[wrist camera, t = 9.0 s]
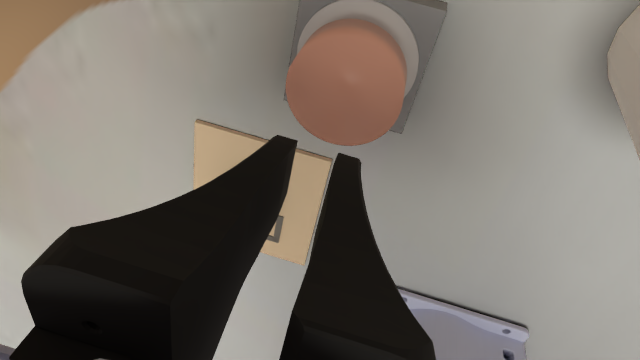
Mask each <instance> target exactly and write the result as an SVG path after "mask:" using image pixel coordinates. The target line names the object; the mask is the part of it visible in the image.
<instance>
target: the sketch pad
mask: <svg viewBox="0 0 640 360" xmlns="http://www.w3.org/2000/svg"><path fill="white" fill-rule="evenodd" d="M267 142H268V140H265V139H262V138H258V137H255V136H251V135H248V134H245V133H241V132H238V131H234V130H231V129H228V128H224V127H221V126H217V125H214V124H211V123H207V122H204V121H200V120H196V121H195V137H194V190H195V189H197V188H199V187H200V186H202V185H204V184H206V183H208V182H210V181H211V180H213V179H215V178H216V177H218V176H220V175H221V174H223V173H225V172H226V171H228V170H230V169H231V168H233V167H234V166H236V165H237V164H239V163H240V162H241V161H243V160H244V159H246V158H247V157H249V156H250V155H251V154H253V153H254V152H255V151H257V150H258V149H259V148H261V147H262V146H263V145H264V144H266V143H267ZM331 162H332V159H330V158H326V157H323V156H320V155H316V154H313V153H309V152H306V151H303V150H299V149H296V151H295V156H294V161H293V166H292V171H291V176H290V181H289V186H288V192H287V195H286V197H285V200H284V203H283V205H282V208H281V211H280V213H279V216H278V218H277V221H276V222H275V224H274V226H273V228H272V230H271V232H270V234H269V236H268V238H267V239H266V241H265V243H264V245H263V247H262V249H261V251H260V252H262V253H265V254H268V255H271V256H275V257H278V258H281V259H284V260H288V261H291V262H294V263H297V264H301V265H304V264H305V261H306V257H307V253H308V249H309V245H310V242H311V238H312V234H313V230H314V227H315V223H316V219H317V215H318V211H319V208H320V204H321V200H322V196H323V192H324V189H325V185H326V181H327V177H328V173H329V170H330V166H331Z"/></svg>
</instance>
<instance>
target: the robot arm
mask: <svg viewBox="0 0 640 360" xmlns="http://www.w3.org/2000/svg"><path fill="white" fill-rule="evenodd" d="M296 146H297V140H293V139H290V138H286V137H283V136H280V135H277V136H275V137H273V138H272V139H270V140H269V141H268V142H267V143H266V144H264V145H263V146H262V147H261V148H259V149H258V150H257V151H255V152H254V153H253V154H251V155H250V156H249V157H247V158H246V159H244V160H243V161H241V162H240V163H239V164H237V165H236V166H234V167H233V168H231V169H230V170H228V171H226V172H225V173H223V174H221V175H220V176H218V177H216V178H215V179H213V180H211V181H210V182H208V183H206V184H204V185H202V186H200V187H199V188H197V189H195V190H192V191H190V192H188V193H186V194H184V195H182V196H180V197H177V198H175V199H172V200H170V201H167V202H164V203H162V204H159V205H157V206H154V207H151V208H148V209H145V210H142V211H139V212H136V213H132V214H128V215H125V216H121V217H118V218H114V219H110V220H105V221H100V222H96V223H91V224H86V225H81V226H76V227H71V228H69V229H68V230H67V231H66V232H65V233H64V234H62V235H61V236H60V237H59V238H58V239H57V240H56V241H55V242H54V243H53V244H52V245H51V246H50V247H49V248H48V249H47V250H46V251H45V252H44V253H43V254H42V255H41V256H40V257H39V258H38V259H37V260H36V261H35V262H34V263H33V264H32V265H31V266H30V267H29V268H28V269H27V270H26V271H25V273H24V274H23V277H22V280H21V283H22V289H23V294H24V297H25V300H26V302H27V305H28V308H29V310H30V313H31V316H32V318H33V321H34V323H35V327H34V328H33V329H32V330H31V331H30V333H29V334H28V335H27V336H26V337H25V339H24V340H23V341H22V342H21V343H20V345H19V346H18V347H17V348H16V349H14V348H11V347H8V346H5V345H2V344H0V360H212V359H213V356H214V354H215V351H216V349H217V346H218V344H219V341H220V339H221V336H222V334H223V331H224V328H225V326H226V323H227V321H228V318H229V316H230V314H231V311H232V309H233V306H234V304H235V301H236V299H237V296H238V294H239V292H240V289H241V287H242V285H243V283H244V281H245V279H246V277H247V275H248V273H249V271H250V269H251V267H252V265H253V264H254V262H255V260H256V258H257V256H258V254H259V252H260V251H261V249H262V247H263V245H264V243H265V241H266V239H267V238H268V236H269V234H270V232H271V230H272V228H273V226H274V224H275V222H276V221H277V218H278V216H279V213H280V211H281V208H282V205H283V203H284V200H285V197H286V195H287V192H288V186H289V181H290V176H291V171H292V166H293V161H294V156H295V151H296ZM403 297H405V298H403ZM528 338H529V331H528V329H526V328H524V327H521V326H518V325H515V324H511V323H508V322H505V321H502V320H498V319H495V318H492V317H489V316H485V315H482V314H479V313H476V312H472V311H469V310H466V309H463V308H459V307H456V306H453V305H450V304H446V303H443V302H440V301H437V300H433V299H430V298H427V297H424V296H420V295H417V294H414V293H411V292H407V291H404V290H401V289H397V287H396V285H395V283H394V281H393V280H392V278H391V276H390V274H389V272H388V270H387V268H386V265H385V263H384V261H383V259H382V257H381V254H380V252H379V249H378V246H377V244H376V241H375V238H374V235H373V232H372V229H371V226H370V222H369V219H368V215H367V211H366V206H365V201H364V196H363V190H362V182H361V162H360V160H359V159H358V158H355V157H351V156H348V155H344V154H341V153H338V155H337V158H336V160H335V163H334V165H333V169H332V173H331V177H330V180H329V184H328V188H327V191H326V195H325V199H324V203H323V206H322V210H321V214H320V217H319V221H318V225H317V229H316V232H315V237H314V242H313V247H312V252H311V256H310V261H309V265H308V268H307V271H306V274H305V276H304V279H303V282H302V285H301V288H300V291H299V294H298V296H297V299H296V302H295V305H294V308H293V310H292V314H291V318H290V321H289V325H288V329H287V333H286V336H285V340H284V344H283V348H282V352H281V355H280V359H279V360H527V358H526V351H525V345H524V343H525V341H526V340H527V339H528Z"/></svg>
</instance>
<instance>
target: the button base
mask: <svg viewBox="0 0 640 360" xmlns="http://www.w3.org/2000/svg"><path fill="white" fill-rule="evenodd" d="M446 13H447V3H445V2H442V1H438V0H300V1H299V8H298V14H297V20H296V26H295V32H294V39H293V45H292V51H291V57H290V64H289V68H290V65H291V64H292V62H293V60H294V59H295V57H296V56H297V54H298V53H299V51H300V50H301V48H302V47H303V45H304V44H305V43H306V41H307V40H308V38H309V37H310V36H311V35H312V34H313V33H314V32H315V31H316V30H317V29H319V28H320V27H322V26H323V25H325V24H327V23H329V22H332V21H335V20H340V19H360V20H365V21H368V22H371V23H373V24H375V25H377V26H379V27H381V28H382V29H384V30H385V31H387V32H388V33H389V34H390V35H391V36H392V37H393V38H394V39H395V41H396V42H397V43H398V45H399V46H400V48H401V50H402V52H403V54H404V57H405V61H406V66H407V80H406V86H405V93H404V99H403V105H402V108H401V112H400V114H399V116H398V118H397V120H396V122H395V123H394V125H393V126H392V127H391V128H390V129H389V130H390V131H393V132H397V133H400V134H402V131H403V129H404V126H405V123H406V121H407V118H408V115H409V113H410V110H411V107H412V104H413V102H414V99H415V96H416V94H417V91H418V88H419V86H420V83H421V80H422V78H423V75H424V72H425V69H426V67H427V64H428V61H429V59H430V56H431V53H432V51H433V48H434V45H435V42H436V40H437V37H438V34H439V32H440V29H441V26H442V24H443V21H444V18H445V16H446ZM288 71H289V70H288ZM284 100H286V101H288V100H287V95H286V89H285V95H284Z"/></svg>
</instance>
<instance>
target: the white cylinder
mask: <svg viewBox="0 0 640 360" xmlns="http://www.w3.org/2000/svg"><path fill="white" fill-rule="evenodd" d="M607 65H608V79H609V82H610V84H611V87H612V90H613V92H614V95H615V97H616V100H617V103H618V105H619V108H620V110H621V113H622V115H623V118H624V121H625V123H626V126H627V128H628V131H629V133H630V136H631V139H632V141H633V144H634V146H635V149H636V151H637V154H638V157H639V159H640V5H639V6H638V7H637V8H636V9H635V10H634V11H633V13H632V14H631V15H630V16H629V17H628V18H627V19H626V20H625V21H624V22H623V23H622V25H621V26H620V27H619V28H618V30H617V32H616V35H615V37H614V39H613V42H612V44H611V46H610V49H609V51H608V53H607Z"/></svg>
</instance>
